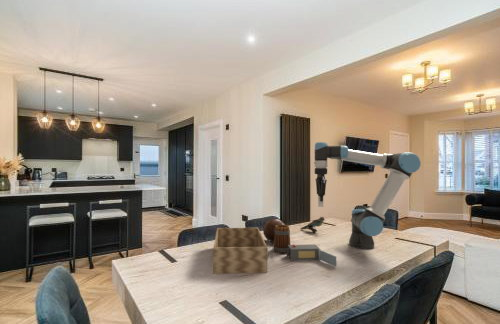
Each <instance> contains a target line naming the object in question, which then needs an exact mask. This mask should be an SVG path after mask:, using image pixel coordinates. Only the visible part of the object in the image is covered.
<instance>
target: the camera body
mask: <svg viewBox="0 0 500 324" xmlns="http://www.w3.org/2000/svg"><path fill="white" fill-rule="evenodd" d="M319 249H321V248H320V247H319V246H318V245H317V244H313V243H312V244H309V243H308V244H290V245H288V248H286V256H287V257H288V256H289V257H288V258H289V259H290V261H292V262H293V261H319V260H318V257H319Z"/></svg>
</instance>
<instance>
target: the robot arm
mask: <svg viewBox="0 0 500 324" xmlns="http://www.w3.org/2000/svg"><path fill="white" fill-rule="evenodd" d="M328 159H331V160H340V161H345V162H350V163H351V162H353V163H356V164H357V163H358V164H365V165H371V166H378V167H379V168H380V169H386V170H389V174H388V176H387V178H386V179H385V181H384V182H383V185H382V186H381V188H380V190H379V191H378V193H377V195H376V196H375V198H374V200H373V202H372V203H371V205H370V206H369V207H366V208H365V209H352V211H351V234H350V236H349V237H350V238H349V239H348V244H349V245H350V247H353V248H356V249H357V248H358V249H361V250H363V249H364V250H369V249H374V248H375V241H374V239H373V237H376V236H379V235H380V234H381V233H382V232H383V229H384V222H385V221H386V217H385V214H386V213H387V211H388V209H389V208H390V206H391V204H392V203H393V201H394V200H395V197H396V196H397V194H398V192H399V191H400V189H401V187H402V186H403V184H404V182H405V181H406V180H408V179H410V177H412V174H413V173H416V172H417V171H418V170H419V169H420V167H421V159H420V157H419V156H418V155H417V154H415V153H414V152H409V151H408V152H407V151H404V152H398V153H382V154H380V153H375V152H374V153H373V152H367V151H361V150H355V149H354V150H353V149H349V147H348V146H347V145H328V142H327V141H324V142H323V141H321V142H320V141H318V142H316V143H315V144H314V162H313V164H314V174H315V175H317V176H316V178H315V185H316V188H315V189H316V195H317V206H318V207H319V208H322V207H323V208H324V196H326V189H327V188H326V185H327V181H328V180H327V179H326V176H325V175H328ZM349 245H348V246H349Z"/></svg>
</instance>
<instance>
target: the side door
mask: <svg viewBox="0 0 500 324" xmlns="http://www.w3.org/2000/svg"><path fill="white" fill-rule="evenodd" d="M317 261H322V262H324V263H326V264H327V265H328V264H329V265H331V266H333V267H337V256H336V255H334V254H332V253H329V252H327V251H324V250H322V249H321V248H320V249H319V257H318V260H317Z"/></svg>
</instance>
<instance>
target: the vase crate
mask: <svg viewBox="0 0 500 324" xmlns="http://www.w3.org/2000/svg"><path fill="white" fill-rule="evenodd" d="M212 250H213V253H212V256H213V257H212V261H213V263H212V274H214V275H216V274H217V275H218V274H219V275H220V274H223V275H224V274H254V273H255V274H257V273H259V274H261V273H268V246H267V243H266V242H265V239H264V237H263V235H262V232H261V231H260V229H259V227H217V228H216V232H215V237H214V244H213V249H212Z"/></svg>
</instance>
